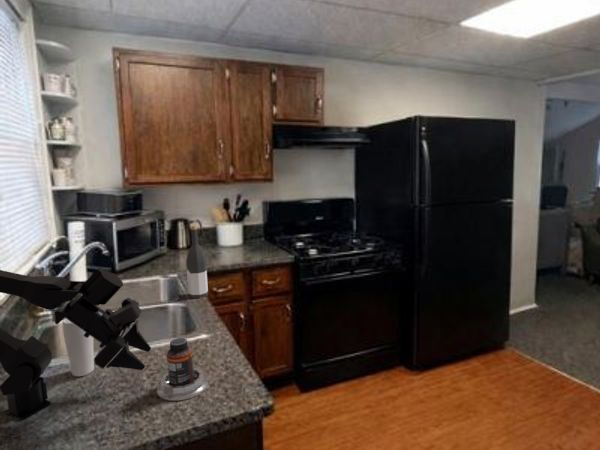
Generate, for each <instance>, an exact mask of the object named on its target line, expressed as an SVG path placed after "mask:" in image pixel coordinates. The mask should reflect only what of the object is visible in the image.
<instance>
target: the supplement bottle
mask: <svg viewBox="0 0 600 450" xmlns="http://www.w3.org/2000/svg"><path fill="white" fill-rule="evenodd" d="M169 342H170V343H169V346H170V347H169V349H168V351H167V353H166V361H167V373H168V374H169V384H170V385H171V386H184V385H187V384H190V383H193V382H194V381H195V380H194V368H195V367H194V356H193V349H192V347H190V346H189V345H188V344H189V343H188V339H187V338H185V337H177V338H174V339H172V340H171V341H169Z"/></svg>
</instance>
